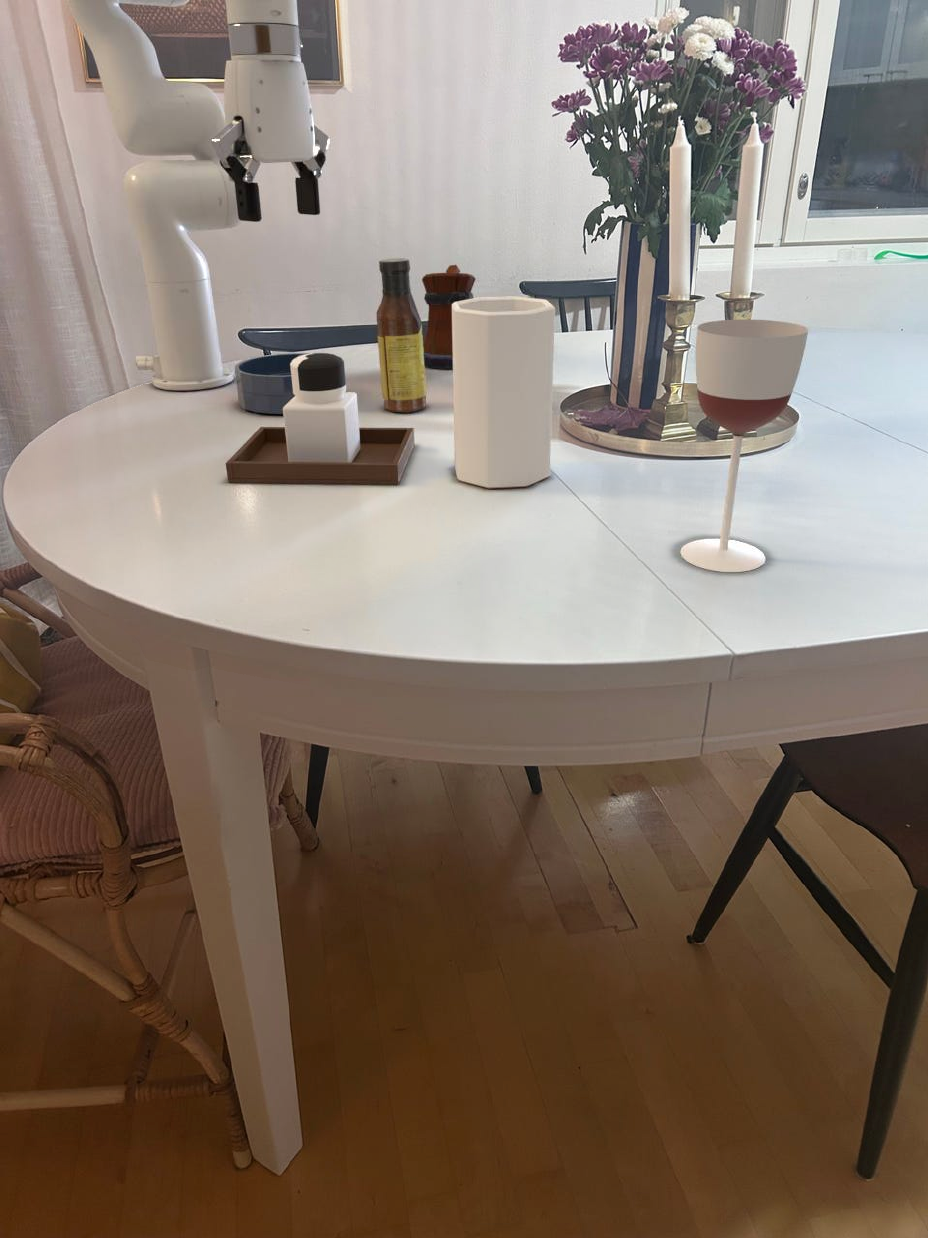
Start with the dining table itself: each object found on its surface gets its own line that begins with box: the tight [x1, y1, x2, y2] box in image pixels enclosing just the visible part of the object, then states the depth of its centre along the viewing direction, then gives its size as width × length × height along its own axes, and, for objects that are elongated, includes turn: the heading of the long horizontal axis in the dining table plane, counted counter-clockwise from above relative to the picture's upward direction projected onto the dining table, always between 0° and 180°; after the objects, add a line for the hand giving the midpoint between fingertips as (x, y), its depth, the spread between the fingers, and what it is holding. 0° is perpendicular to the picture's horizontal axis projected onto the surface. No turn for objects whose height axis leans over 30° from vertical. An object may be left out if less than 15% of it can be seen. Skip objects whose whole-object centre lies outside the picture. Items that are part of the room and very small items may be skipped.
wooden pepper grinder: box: [421, 264, 476, 370], centre depth 154 cm, size 18×12×15 cm, turn 177°
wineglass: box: [679, 319, 809, 573], centre depth 78 cm, size 8×9×20 cm
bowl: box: [234, 352, 312, 415], centre depth 132 cm, size 15×15×6 cm
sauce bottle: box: [375, 257, 427, 413], centre depth 124 cm, size 7×6×20 cm
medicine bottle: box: [282, 352, 360, 463], centre depth 104 cm, size 7×7×12 cm
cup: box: [452, 295, 556, 490], centre depth 99 cm, size 11×11×18 cm
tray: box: [225, 426, 415, 486], centre depth 107 cm, size 19×14×2 cm
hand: (280, 217), depth 107 cm, fingers open, 9 cm apart
